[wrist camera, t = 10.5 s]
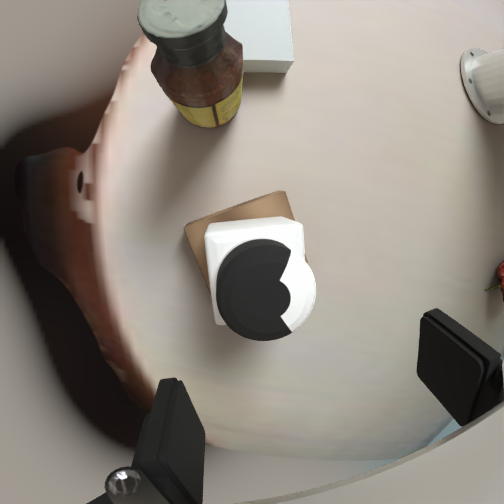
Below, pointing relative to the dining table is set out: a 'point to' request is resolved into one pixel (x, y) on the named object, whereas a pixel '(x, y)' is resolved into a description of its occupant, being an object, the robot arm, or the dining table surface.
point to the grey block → (261, 33)
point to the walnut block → (252, 209)
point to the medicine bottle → (259, 276)
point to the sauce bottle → (195, 58)
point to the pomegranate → (503, 274)
